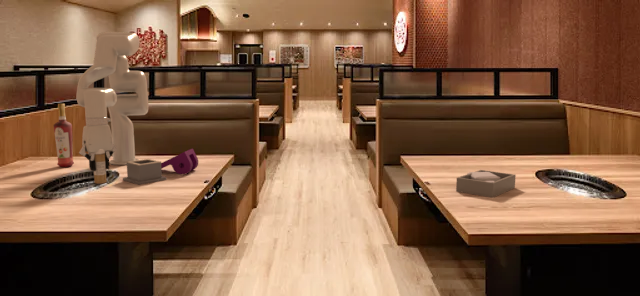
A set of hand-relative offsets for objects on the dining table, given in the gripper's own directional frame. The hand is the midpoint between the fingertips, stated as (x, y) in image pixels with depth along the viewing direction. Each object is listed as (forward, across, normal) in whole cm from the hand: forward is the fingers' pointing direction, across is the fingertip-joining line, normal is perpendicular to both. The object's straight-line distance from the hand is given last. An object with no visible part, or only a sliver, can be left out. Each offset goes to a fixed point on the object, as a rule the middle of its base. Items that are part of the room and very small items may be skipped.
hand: (99, 169), depth 198 cm
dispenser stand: (+5, -89, +115) cm, 146 cm away
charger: (+5, -89, +115) cm, 146 cm away
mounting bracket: (+6, -31, +2) cm, 32 cm away
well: (+5, -14, +8) cm, 17 cm away
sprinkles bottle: (+6, 0, 0) cm, 6 cm away
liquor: (+6, -5, -44) cm, 45 cm away
